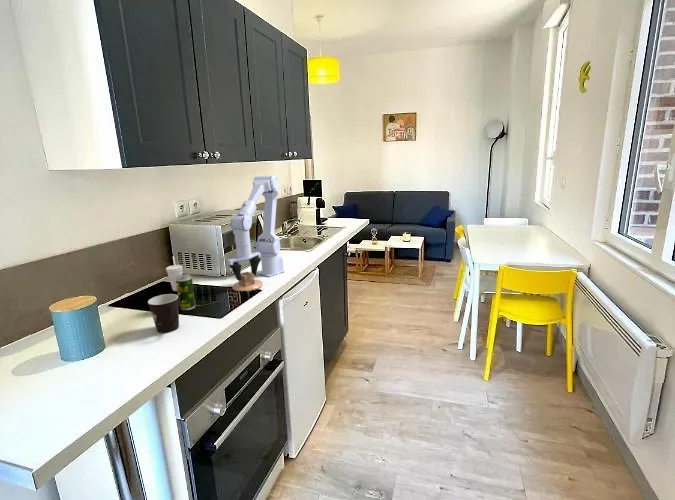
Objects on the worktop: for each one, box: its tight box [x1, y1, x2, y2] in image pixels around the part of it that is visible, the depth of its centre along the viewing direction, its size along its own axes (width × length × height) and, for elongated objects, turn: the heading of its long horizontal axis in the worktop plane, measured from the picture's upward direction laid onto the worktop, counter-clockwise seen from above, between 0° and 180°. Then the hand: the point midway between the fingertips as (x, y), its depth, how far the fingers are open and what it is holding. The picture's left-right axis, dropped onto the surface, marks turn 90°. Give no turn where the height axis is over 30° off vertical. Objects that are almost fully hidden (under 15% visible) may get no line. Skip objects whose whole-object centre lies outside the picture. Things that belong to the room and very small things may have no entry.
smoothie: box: [165, 256, 184, 292], centre depth 149 cm, size 6×6×14 cm
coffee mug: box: [147, 293, 180, 334], centre depth 113 cm, size 12×9×10 cm
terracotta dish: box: [231, 279, 263, 293], centre depth 150 cm, size 12×12×1 cm
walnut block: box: [238, 271, 256, 287], centre depth 150 cm, size 4×4×4 cm
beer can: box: [176, 273, 197, 311], centre depth 130 cm, size 5×5×12 cm
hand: (246, 277), depth 149 cm, fingers open, 7 cm apart
